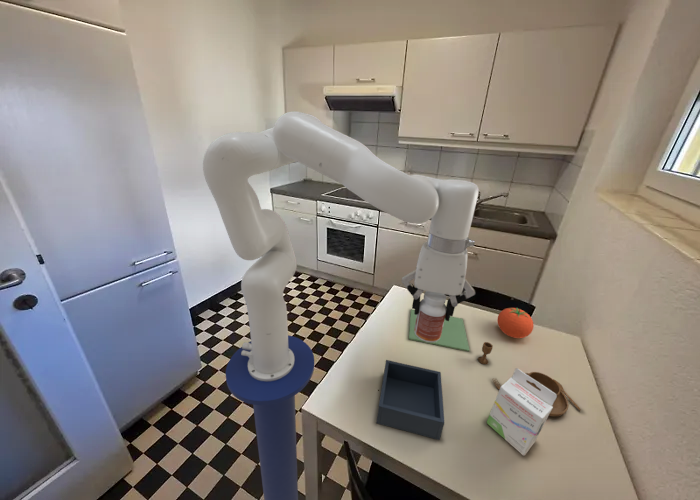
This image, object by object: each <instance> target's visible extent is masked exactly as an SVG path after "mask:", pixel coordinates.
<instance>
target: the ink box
mask: <svg viewBox="0 0 700 500" xmlns="http://www.w3.org/2000/svg"><path fill="white" fill-rule="evenodd" d="M525 373H526V372H524V371H523V370H521V369H519V368H518V367H516V368H514V371H513V373H512V377H511V376H510V377H509V378H508V380H506V381H505V382H504V383H503V384H502V385H500V386H501V387H500V390H499V389H498V393H497V395H496V398H495V399H494V402H493V405H492V407H491V410H490V412H489V414H488V417H487V420H486V425H488V426H489V427H490V428H491V429H493V431H495V432H496V433H497V434H498V435H499V436H500V437H501V438H503V439H504V440H505V442H507V443H508V444H509V445H511V446H512V447H513V448H514V449H515V450H516V451H518V452H519V453H520V454H521V455H522V456H526V455H527V454H528V453H529V451H530V449H531V448H532V447H533V445H534V444H535V443H536V441H537V439H538V437H539V435H540V433H541V432H542V429H543V428H544V426H545V424H546V422H547V420H548V418H549V417H550V416H549V414H550V412H551V410H552V408H553V406H552V405H553V403H554V401H555V399H556V397H557V395H556V394H555V393H554V392H552V391H551V390H549V389H548V388H546V387H545V386H543V385H542V384H540V383H539V382H537V381H536V380H534V379H533V378H531V377H530V376H528V375H527V374H525ZM526 380H528V381H530V382H531V383H534V384H535V385H536V386H537V387H538V388H540V389H541V391H539V390H537V389H536V388H534V387H533V386H532V385H530V384H529V383H527V382H526Z"/></svg>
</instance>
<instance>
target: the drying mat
mask: <svg viewBox="0 0 700 500" xmlns="http://www.w3.org/2000/svg"><path fill="white" fill-rule="evenodd" d="M414 312H415V309H412V308H411V309H410V317H409V331H408V341H409V340H410V341H415V342H418V343H419V342H420V343H423V344H424V343H425V344H430V345H433V346H434V345H435V346H438V347H443V348H444V347H445V348H449V349H453V350H459V351H463V352H470V346H469V342H468V337H467V333H466V328H465V323H464V318H462V317H456V316H450V318H449V321H446V320H444V324H443V329H442V333H441V337H440V339H439V340H438V341H436V342H433V343H429V342H425V341H423V340H421V339H419V338H418V337H417V336H416V335H415V332H414V329H415V323H416V318H417V315H415V314H414Z"/></svg>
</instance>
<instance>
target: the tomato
mask: <svg viewBox="0 0 700 500" xmlns="http://www.w3.org/2000/svg"><path fill="white" fill-rule="evenodd" d="M496 321H497V325H498V328H499V329H500V330H501V332H502V333H504V334H505V335H506V336H508V337H511V338H514V339H523V338H526V337H528V336H530V334H532V332H533V331H534V326H535V325H534V321H533V318H532V317H531V316H530V314H528V312H526V311H525V310H522V309H521V308H518V307H507V308H504V309H503V310H501V311H500V312H499V313H498V315H497V320H496Z"/></svg>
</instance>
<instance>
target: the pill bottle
mask: <svg viewBox="0 0 700 500" xmlns="http://www.w3.org/2000/svg"><path fill="white" fill-rule="evenodd" d="M446 300H447V296H446V294H441V293H436V292H430V291H424V294H423V299H420V304H419V310H418V314H417V318H416V323H415V329H414V332H415V335H416V336H417V337H418V338H419V339H421V340H423V341H425V342H429V343H433V342H436V341H438V340H439V339H440V337H441V333H442V329H443V324H444V320H445V316H446V311H447V308H446V305H447V304H445V303H446V302H447V301H446ZM429 343H428V344H429Z"/></svg>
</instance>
